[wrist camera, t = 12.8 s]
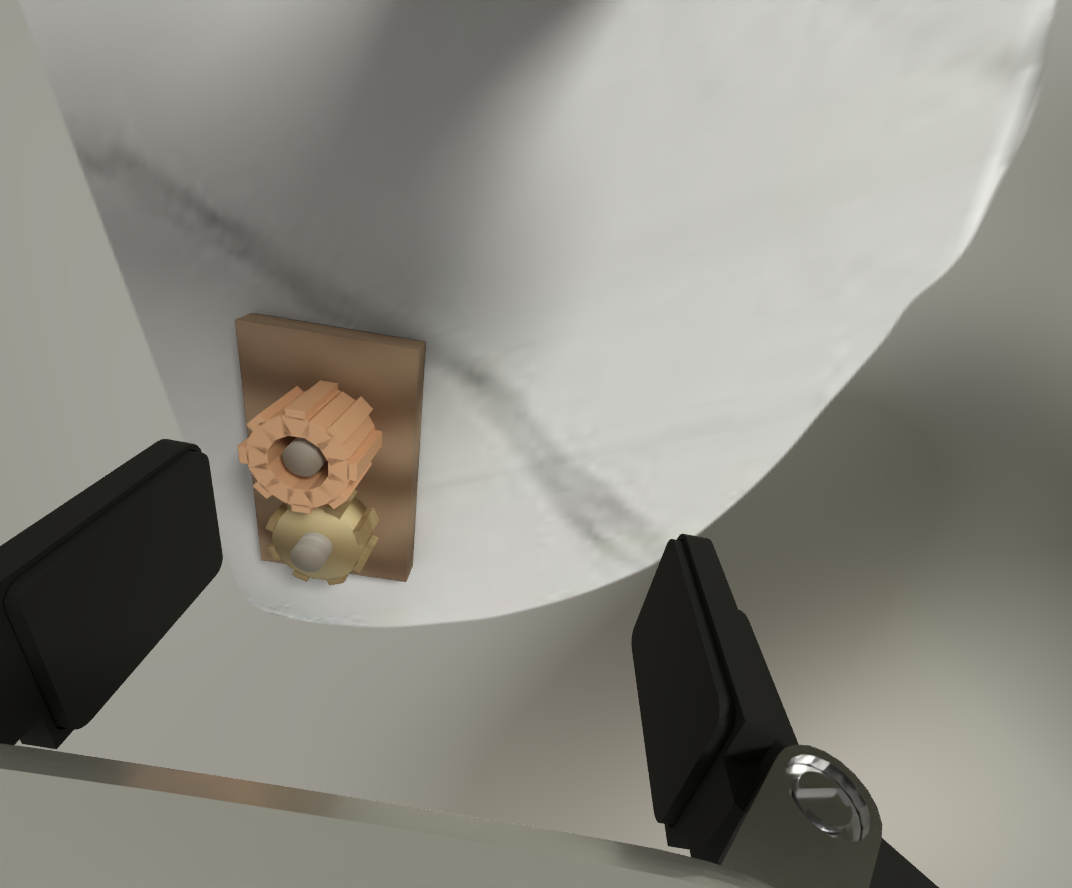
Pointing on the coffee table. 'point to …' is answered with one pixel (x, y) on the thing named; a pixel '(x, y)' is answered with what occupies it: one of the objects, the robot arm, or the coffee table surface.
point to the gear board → (355, 377)
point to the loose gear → (328, 426)
